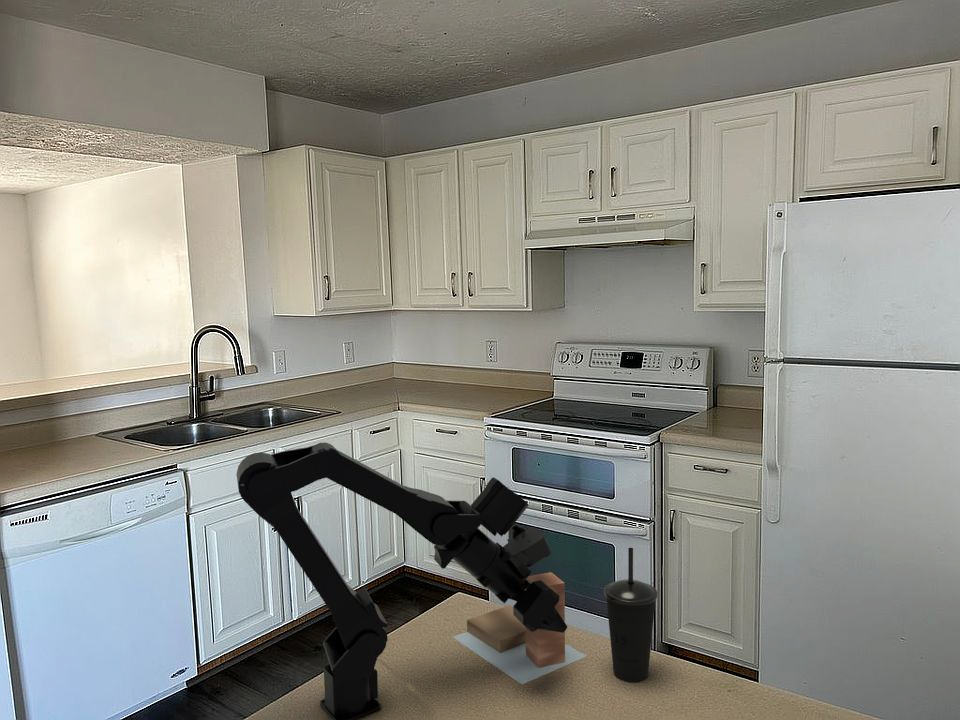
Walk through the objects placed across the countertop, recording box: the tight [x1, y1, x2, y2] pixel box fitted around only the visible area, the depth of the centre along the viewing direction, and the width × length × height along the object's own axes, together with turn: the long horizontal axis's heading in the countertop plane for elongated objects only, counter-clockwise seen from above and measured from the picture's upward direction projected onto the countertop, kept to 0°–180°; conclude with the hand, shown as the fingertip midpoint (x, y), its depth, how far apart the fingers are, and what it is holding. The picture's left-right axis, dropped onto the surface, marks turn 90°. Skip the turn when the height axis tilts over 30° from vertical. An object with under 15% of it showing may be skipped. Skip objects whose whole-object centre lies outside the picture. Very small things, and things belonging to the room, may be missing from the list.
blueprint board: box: [452, 631, 588, 685], centre depth 115 cm, size 13×18×1 cm
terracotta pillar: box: [525, 571, 566, 668], centre depth 110 cm, size 4×4×12 cm
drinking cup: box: [603, 547, 659, 684], centre depth 105 cm, size 8×8×20 cm
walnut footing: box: [466, 605, 526, 653], centre depth 119 cm, size 9×9×2 cm
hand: (551, 616), depth 111 cm, fingers open, 9 cm apart
